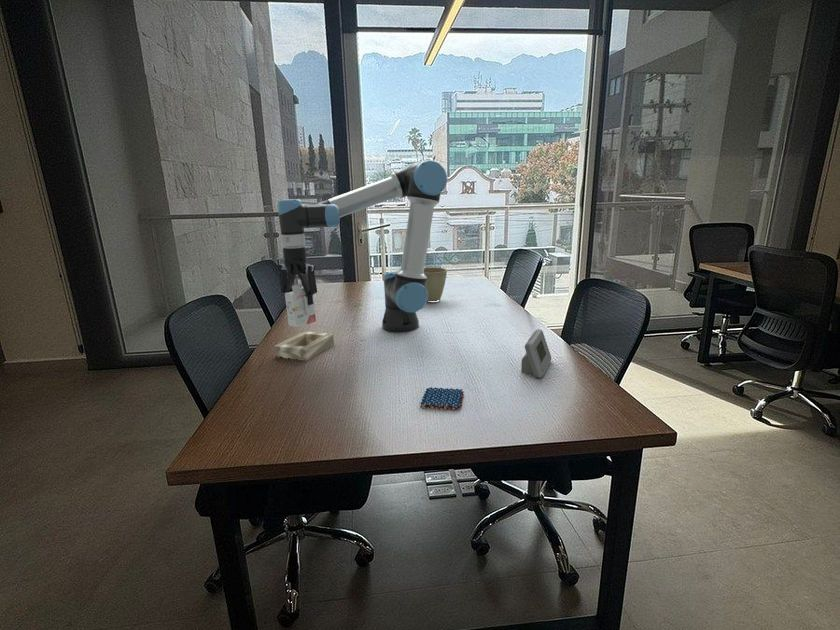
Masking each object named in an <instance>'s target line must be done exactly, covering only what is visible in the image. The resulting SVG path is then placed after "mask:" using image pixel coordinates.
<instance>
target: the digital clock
mask: <svg viewBox="0 0 840 630" xmlns="http://www.w3.org/2000/svg"><path fill="white" fill-rule="evenodd" d="M524 350H525V354H524V355H523V356H522V358H521V366H520V368H521V370H520V371H521V372H522V373H526V374H531V375H532V374H533V376H534V377H535V378H537V379H540V378H542V377H543V376H544V374H545V373H546V371H547V369H548V367H549V365H550V363H551V361H552V355H551V351H550V348H549V346H548V344H547V340H546V336H545V335H544V331H543V330H542V329H540V328H537V329H536V330H535V331H533V332H532V335H531V336H530V337H529V338H528V340H527V341H526V343H525V345H524Z"/></svg>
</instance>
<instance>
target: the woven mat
mask: <svg viewBox="0 0 840 630" xmlns="http://www.w3.org/2000/svg"><path fill="white" fill-rule="evenodd" d="M464 393H465V391H463V388H460V389H459V388H452V387H450V388H449V387H446V388H444V387H431V386H430V387H428V388H425V390H424V393H423V396H422V399H421V402H420V404H421V405H420V408H422V409H425V408H427V409H431V410H433V409H434V408H435V410H438V409H439V410H440V411H442V410H444V411H445V410H448V411H450V410H451V409H452V411H455V410H456V411H460V409H461V407H462V406H463V404H462V403H463V398H464V395H465V394H464Z"/></svg>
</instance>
